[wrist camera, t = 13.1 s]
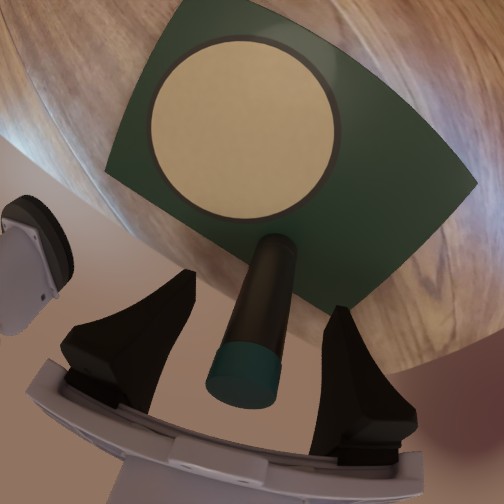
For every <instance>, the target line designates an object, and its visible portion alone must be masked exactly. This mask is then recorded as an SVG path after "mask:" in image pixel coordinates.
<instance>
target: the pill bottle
mask: <svg viewBox="0 0 504 504" xmlns="http://www.w3.org/2000/svg"><path fill="white" fill-rule="evenodd" d="M296 260H297V247H296V245H295V243H294V242H293V241H292V240H291V239H290V238H289V237H287V236H285V235H283V234H278V233H272V234H268V235H266V236H264V237H262V238H261V239H260V240H259V242H258V244H257V246H256V249H255V252H254V255H253V257H252V260H251V263H250V265H249V268H248V271H247V274H246V276H245V279H244V282H243V285H242V287H241V290H240V293H239V296H238V298H237V301H236V304H235V307H234V309H233V312H232V315H231V318H230V320H229V323H228V326H227V329H226V331H225V334H224V337H223V339H222V342H221V345H220V348H219V349H218V350H217V352H216V355H215V358H214V360H213V363H212V366H211V368H210V371H209V374H208V377H207V379H206V389H207V390H208V392H209V393H210V394H211V395H212V396H213V397H215V398H216V399H218V400H220V401H221V402H224V403H226V404H228V405H231V406H235V407H238V408H244V409H263V408H266V407H269V406H271V405H272V404H273V403H274V402H275V400H276V397H277V390H278V385H279V380H280V374H281V368H282V365H281V361H282V355H283V349H284V343H285V337H286V331H287V324H288V318H289V311H290V304H291V297H292V290H293V283H294V275H295V268H296Z"/></svg>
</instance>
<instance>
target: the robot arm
mask: <svg viewBox="0 0 504 504" xmlns="http://www.w3.org/2000/svg"><path fill="white" fill-rule="evenodd" d="M2 223H3V227H4V230H5V232H4V233H3V234H2V235H0V333H1V334H3V335H6V336H14V335H17V334H18V333H20V332H22V331H23V330H24V329H25V328H27V326H28V325H29V324H30V323H31V321H32V320H33V319H34V318H35V317H36V316H37V315H38V313H39V312H40V311H41V310H42V309H43V308H44V307H45V306H46V304H47V303H48V302H49V301H50V300H51V299H52V298H55V299H58V298H59V294H58V291H57V288H56V286H55V283H54V280H53V277H52V274H51V272H50V269H49V266H48V262H47V259H46V256H45V253H44V249H43V246H42V242H41V239H40V235H39V232H38V230H37V228H35V227H32V226H29V225H26V224H23V223H20V222H18V221H15V220H12V219H9V218H6V217H3V218H2ZM195 301H196V272H195V271H191V270H187V269H184V270H183V271H181V272H180V273H179V274H177V275H176V276H175V277H174V278H172V279H171V280H170V281H168V282H167V283H166V284H164V285H163V286H162V287H160V288H159V289H158V290H156V291H155V292H153V293H152V294H150V295H149V296H147V297H146V298H144V299H142V300H141V301H139V302H137V303H136V304H134V305H132V306H130V307H128V308H126V309H124V310H122V311H120V312H118V313H116V314H113V315H111V316H108V317H105V318H103V319H100V320H96V321H93V322H90V323H85V324H82V325H77V326H74V327H73V328H72V330H71V331H70V332H69V333H68V335H67V336H66V338H65V339H64V340H63V341H62V343H61V344H60V347H61V351H62V353H63V355H64V357H65V358H66V360H67V361H68V363H69V365H70V366H71V368H70V369H69V371H67V370H66V369H65V368H64V367H62V366H61V365H59V364H57V363H56V362H54V361H53V360H51V359H47V360H46V362H45V363H44V365H43V366H42V367H41V369H40V370H39V372H38V373H37V375H36V376H35V378H34V379H33V381H32V382H31V384H30V385H29V387H28V388H27V390H26V391H25V393H26V395H27V396H28V397H29V398H30V399H31V400H32V401H33V402H34V403H35V404H36V405H37V406H38V407H39V408H40V409H41V410H42V411H43V412H45V413H46V414H47V415H48V416H50V417H51V418H52V419H54V420H55V421H57V422H58V423H60V424H61V425H63V426H64V427H66V428H67V429H69V430H70V431H72V432H73V433H75V434H76V435H78V436H79V437H81V438H83V439H84V440H86V441H88V442H89V443H91V444H93V445H94V446H96V447H98V448H99V449H101V450H103V451H105V452H107V453H108V454H110V455H112V456H114V457H116V458H118V459H120V460H122V461H124V463H123V465H122V468H121V470H120V472H119V474H118V477H117V479H116V482H115V484H114V486H113V489H112V491H111V493H110V496H109V498H108V501H107V503H106V504H388V503H395V502H398V501H402V500H406V499H409V498H412V497H415V496H418V495H421V494H423V493H424V475H423V452H422V451H413V452H403V453H400V454H399V453H398V448H401V446H402V445H401V441H402V440H403V439H405V438H406V437H408V436H409V435H411V434H412V433H413V432H415V431H416V429H417V427H418V422H417V413H416V409H415V408H414V407H413V406H412V405H410V404H409V403H408V402H407V401H406V400H405V399H404V398H403V397H402V396H401V395H400V394H399V393H398V392H397V391H396V389H394V387H393V386H392V385H391V384H390V382H389V381H388V380H387V378H386V377H385V376H384V375H383V373H382V372H381V370H380V369H379V367H378V366H377V364H376V363H375V361H374V360H373V358H372V356H371V355H370V353H369V351H368V349H367V347H366V345H365V343H364V341H363V339H362V337H361V335H360V333H359V331H358V329H357V327H356V324H355V322H354V320H353V318H352V315H351V313H350V311H349V309H348V307H345V306H340V305H336V307H335V309H334V311H333V313H332V315H331V317H330V319H329V322H328V324H327V326H326V328H325V330H324V333H323V342H322V384H321V397H320V404H319V410H318V416H317V421H316V426H315V431H314V435H313V440H312V444H311V448H310V451H309V455H303V454H295V453H288V452H281V451H275V450H269V449H264V448H258V447H253V446H248V445H244V444H239V443H235V442H231V441H227V440H223V439H219V438H215V437H211V436H208V435H205V434H201V433H198V432H195V431H191V430H188V429H185V428H182V427H179V426H176V425H174V424H171V423H168V422H165V421H162V420H160V419H157V418H155V417H152V416H150V415H148V411H149V408H150V405H151V402H152V398H153V395H154V392H155V389H156V386H157V384H158V381H159V378H160V375H161V373H162V370H163V368H164V365H165V363H166V360H167V358H168V355H169V353H170V351H171V349H172V347H173V345H174V344H175V341H176V340H177V338H178V336H179V335H180V333H181V331H182V329H183V327H184V326H185V324H186V322H187V320H188V318H189V316H190V314H191V311H192V309H193V306H194V304H195Z"/></svg>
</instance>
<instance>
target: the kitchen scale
mask: <svg viewBox="0 0 504 504" xmlns="http://www.w3.org/2000/svg"><path fill="white" fill-rule="evenodd" d="M105 172H106V173H107V174H109V175H110V176H112V177H113V178H115V179H116V180H118V181H119V182H121V183H122V184H124V185H125V186H127V187H128V188H130V189H132V190H133V191H135V192H136V193H138V194H139V195H141V196H142V197H144V198H145V199H147V200H148V201H150V202H151V203H153V204H155V205H156V206H158V207H159V208H161V209H162V210H164V211H165V212H167V213H168V214H170V215H171V216H173V217H175V218H176V219H178V220H179V221H181V222H182V223H184V224H185V225H187V226H189V227H190V228H192V229H193V230H195V231H196V232H198V233H199V234H201V235H203V236H204V237H206V238H207V239H209V240H210V241H212V242H214V243H215V244H217V245H218V246H220V247H221V248H223V249H225V250H226V251H228V252H229V253H231V254H232V255H234V256H236V257H237V258H239V259H240V260H242V261H243V262H245V263H247V264H248V265H250V263H251V260H252V257H253V255H254V252H255V249H256V246H257V244H258V242H259V240H260V239H261V238H262V237H264V236H266V235H268V234H272V233H278V234H283V235H285V236H287V237H289V238H290V239H291V240H292V241H293V242H294V243H295V245H296V247H297V260H296V268H295V275H294V283H293V290H292V292H293V293H294V294H296V295H298V296H299V297H301V298H303V299H304V300H306V301H307V302H309V303H311V304H312V305H314V306H315V307H317V308H319V309H320V310H322V311H324V312H325V313H327V314H328V315H330V316H331V315H332V313H333V311H334V309H335V307H336V305H340V306H345V307H348V309H349V310H351V309H352V308H353V307H354V306H355V305H357V304H358V303H359V302H360V301H361V300H363V299H364V298H365V297H366V296H367V295H369V294H370V293H371V292H372V291H373V290H374V289H375V288H377V287H378V286H379V285H380V284H381V283H382V282H383V281H385V280H386V279H387V278H388V277H389V276H390V275H391V274H392V273H393V272H394V271H396V270H397V269H398V268H399V267H400V266H401V265H402V264H403V263H404V262H405V261H406V260H407V259H408V258H409V257H410V256H411V255H412V254H413V253H415V252H416V251H417V250H418V249H419V248H420V247H421V246H422V245H423V244H424V243H425V242H426V241H427V240H428V239H429V238H430V236H431V235H432V234H433V233H434V232H435V231H436V230H437V229H438V228H439V227H440V226H441V225H442V224H443V223H444V222H445V221H446V220H447V219H448V217H449V216H450V215H451V214H452V213H453V212H454V211H455V210H456V209H457V207H458V206H459V205H460V204H461V203H462V202H463V201H464V199H465V198H466V197H467V196H468V195H469V194H470V192H471V191H472V190H473V189H474V188H475V186H476V185H477V184H478V183H477V181H476V180H475V178H474V177H473V176H472V174H471V173H470V172H469V170H468V169H467V168H466V167H465V165H464V164H463V163H462V161H461V160H460V159H459V158H458V157H457V155H456V154H455V153H454V152H453V150H452V149H451V148H450V147H449V146H448V145H447V143H446V142H445V141H444V140H443V139H442V138H441V137H440V136H439V135H438V133H437V132H436V131H435V130H434V129H433V128H432V127H431V126H430V125H429V124H428V123H427V122H426V121H425V120H424V119H423V118H422V117H421V116H420V115H419V114H418V113H417V112H416V111H415V110H414V109H413V108H412V107H411V106H410V105H409V104H408V103H407V102H406V101H405V100H403V99H402V98H401V97H400V96H399V95H398V94H397V93H396V92H395V91H393V90H392V89H391V88H390V87H389V86H388V85H386V84H385V83H384V82H383V81H382V80H380V79H379V78H378V77H377V76H375V75H374V74H373V73H372V72H370V71H369V70H368V69H366V68H365V67H364V66H362V65H361V64H360V63H358V62H357V61H356V60H354V59H353V58H351V57H350V56H349V55H347V54H346V53H344V52H343V51H341V50H340V49H338V48H337V47H335V46H334V45H332V44H331V43H329V42H328V41H326V40H324V39H323V38H321V37H319V36H318V35H316V34H314V33H313V32H311V31H309V30H308V29H306V28H304V27H302V26H301V25H299V24H297V23H295V22H293V21H291V20H289V19H287V18H285V17H283V16H281V15H279V14H277V13H275V12H273V11H271V10H269V9H267V8H265V7H262V6H260V5H258V4H256V3H253V2H251V1H249V0H183V1H182V3H181V4H180V6H179V7H178V9H177V10H176V12H175V13H174V15H173V17H172V18H171V20H170V21H169V23H168V25H167V26H166V28H165V30H164V32H163V33H162V35H161V37H160V39H159V40H158V42H157V44H156V46H155V48H154V50H153V52H152V53H151V55H150V57H149V59H148V61H147V63H146V65H145V67H144V69H143V72H142V74H141V76H140V78H139V80H138V82H137V84H136V87H135V89H134V91H133V93H132V96H131V98H130V101H129V103H128V105H127V108H126V110H125V113H124V115H123V118H122V121H121V123H120V126H119V129H118V132H117V134H116V137H115V140H114V143H113V146H112V149H111V152H110V155H109V158H108V162H107V165H106V168H105Z"/></svg>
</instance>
